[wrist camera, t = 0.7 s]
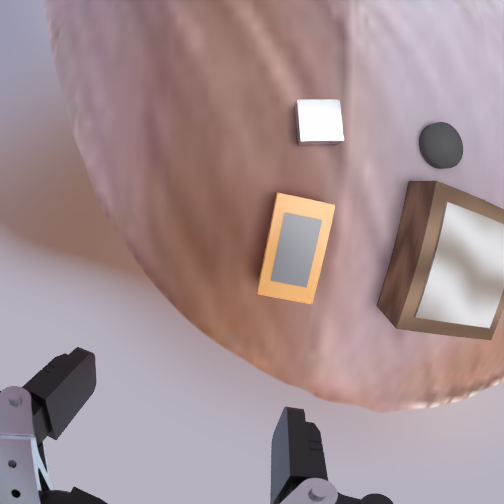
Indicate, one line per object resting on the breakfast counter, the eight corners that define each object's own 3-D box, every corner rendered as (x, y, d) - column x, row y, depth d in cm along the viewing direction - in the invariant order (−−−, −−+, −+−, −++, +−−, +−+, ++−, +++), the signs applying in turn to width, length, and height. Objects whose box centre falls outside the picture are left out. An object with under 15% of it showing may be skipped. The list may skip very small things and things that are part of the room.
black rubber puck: (421, 118, 28) (429, 115, 26) (455, 133, 28) (464, 131, 26) (415, 160, 29) (423, 159, 27) (450, 174, 29) (460, 174, 27)
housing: (276, 192, 30) (277, 192, 25) (325, 202, 30) (335, 205, 25) (259, 278, 32) (257, 294, 27) (306, 286, 32) (312, 305, 27)
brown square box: (408, 181, 29) (437, 180, 23) (496, 214, 29) (528, 221, 23) (377, 305, 32) (397, 329, 26) (466, 320, 32) (492, 341, 26)
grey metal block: (294, 108, 28) (297, 99, 26) (333, 107, 28) (339, 99, 25) (297, 145, 29) (300, 141, 26) (336, 144, 29) (343, 140, 26)
